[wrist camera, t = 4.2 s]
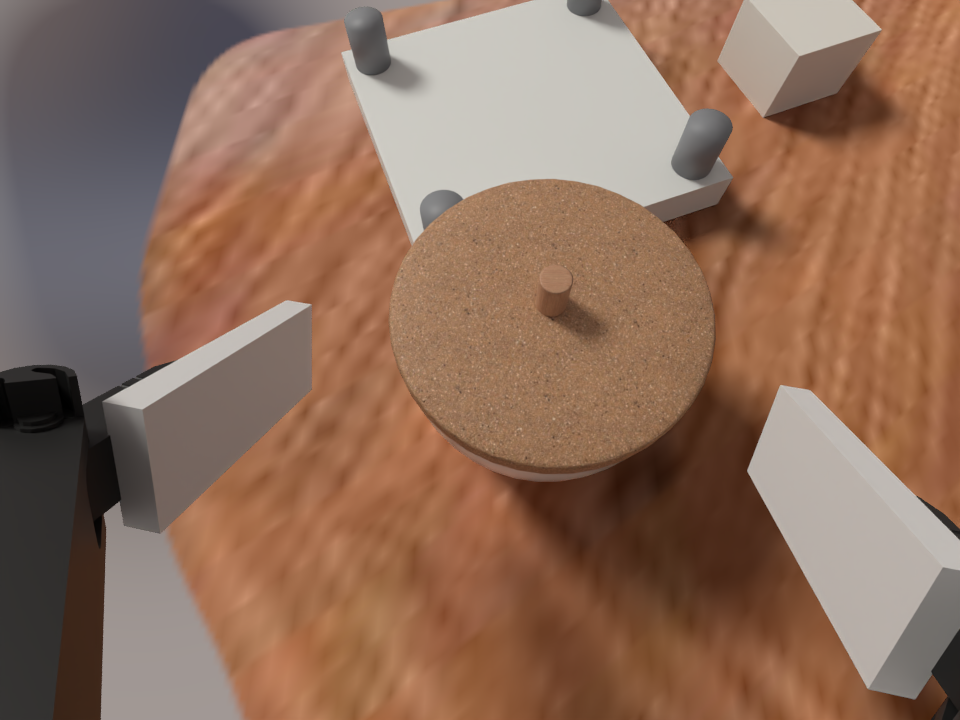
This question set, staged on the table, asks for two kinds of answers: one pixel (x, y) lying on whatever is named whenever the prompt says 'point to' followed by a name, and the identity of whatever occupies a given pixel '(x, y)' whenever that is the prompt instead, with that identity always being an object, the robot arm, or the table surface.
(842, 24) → the plain off-white block
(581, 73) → the grey stand
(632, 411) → the lidded jar
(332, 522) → the table surface
